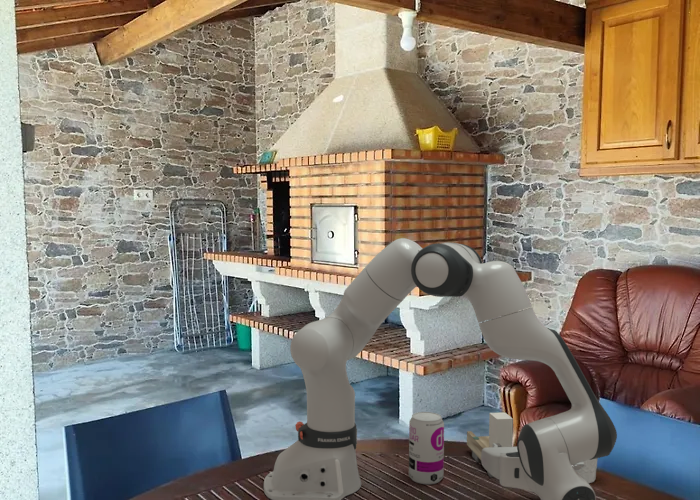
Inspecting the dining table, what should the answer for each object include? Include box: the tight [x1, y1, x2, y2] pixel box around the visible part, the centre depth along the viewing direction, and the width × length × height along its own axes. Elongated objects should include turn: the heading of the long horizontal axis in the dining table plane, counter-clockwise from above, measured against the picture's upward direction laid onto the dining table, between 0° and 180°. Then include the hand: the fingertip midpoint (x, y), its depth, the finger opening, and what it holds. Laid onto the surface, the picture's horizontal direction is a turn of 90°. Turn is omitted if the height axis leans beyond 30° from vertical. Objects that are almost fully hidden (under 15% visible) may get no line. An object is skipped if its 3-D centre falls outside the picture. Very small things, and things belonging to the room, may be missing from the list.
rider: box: [488, 412, 514, 448], centre depth 152 cm, size 4×5×10 cm
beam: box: [466, 430, 495, 478], centre depth 158 cm, size 8×17×6 cm, turn 8°
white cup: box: [576, 458, 599, 484], centre depth 150 cm, size 8×8×10 cm
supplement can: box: [408, 411, 445, 485], centre depth 148 cm, size 8×8×15 cm
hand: (515, 445), depth 143 cm, fingers open, 8 cm apart
